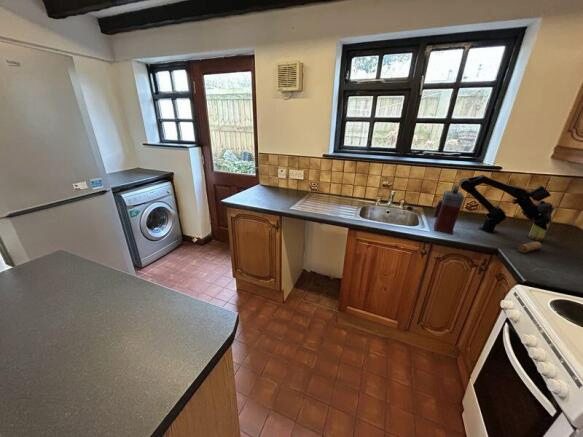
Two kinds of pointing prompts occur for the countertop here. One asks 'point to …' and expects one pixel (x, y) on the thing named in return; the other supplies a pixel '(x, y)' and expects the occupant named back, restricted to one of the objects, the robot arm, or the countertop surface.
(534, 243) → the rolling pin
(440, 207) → the red bottle
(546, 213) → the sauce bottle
